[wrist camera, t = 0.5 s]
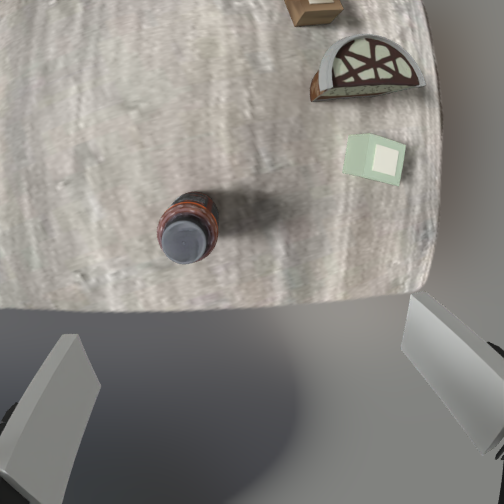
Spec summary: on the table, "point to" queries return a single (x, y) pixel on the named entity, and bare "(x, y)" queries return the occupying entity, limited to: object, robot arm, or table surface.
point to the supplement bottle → (189, 228)
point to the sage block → (374, 158)
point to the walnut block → (313, 11)
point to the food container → (364, 69)
